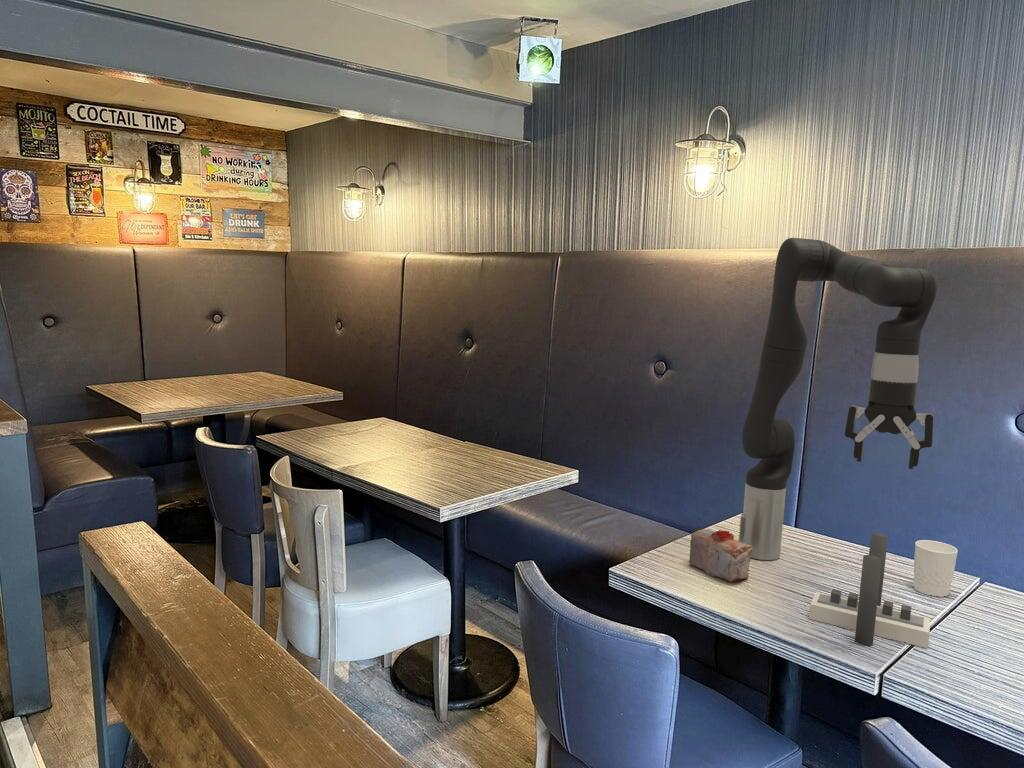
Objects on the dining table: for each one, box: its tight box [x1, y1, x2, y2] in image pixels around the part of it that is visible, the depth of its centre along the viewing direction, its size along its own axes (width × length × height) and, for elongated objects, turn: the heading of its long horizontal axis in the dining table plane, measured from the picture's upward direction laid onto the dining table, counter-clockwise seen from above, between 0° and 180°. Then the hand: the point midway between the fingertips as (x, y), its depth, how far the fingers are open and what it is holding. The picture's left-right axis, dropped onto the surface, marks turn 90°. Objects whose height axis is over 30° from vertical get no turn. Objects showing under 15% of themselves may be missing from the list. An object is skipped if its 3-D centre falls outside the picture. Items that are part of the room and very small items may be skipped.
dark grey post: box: [854, 554, 882, 647], centre depth 129 cm, size 3×3×16 cm
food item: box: [688, 528, 753, 582], centre depth 159 cm, size 14×8×10 cm, turn 36°
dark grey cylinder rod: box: [868, 531, 889, 607], centre depth 141 cm, size 3×3×16 cm
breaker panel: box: [808, 588, 931, 649], centre depth 136 cm, size 20×7×5 cm, turn 58°
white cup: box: [913, 539, 959, 598], centre depth 153 cm, size 8×8×10 cm
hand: (884, 464), depth 132 cm, fingers open, 8 cm apart
